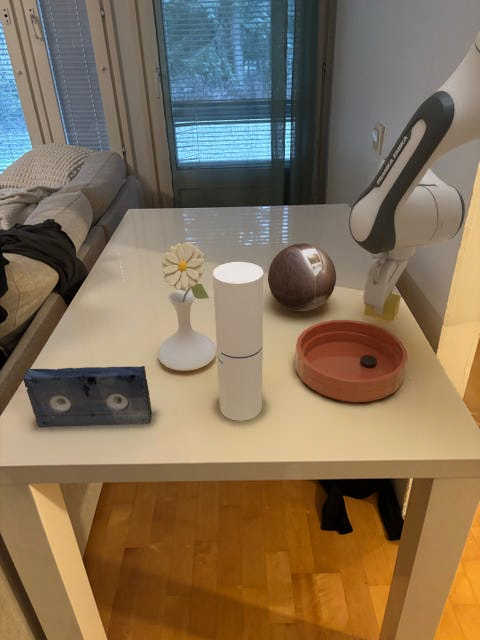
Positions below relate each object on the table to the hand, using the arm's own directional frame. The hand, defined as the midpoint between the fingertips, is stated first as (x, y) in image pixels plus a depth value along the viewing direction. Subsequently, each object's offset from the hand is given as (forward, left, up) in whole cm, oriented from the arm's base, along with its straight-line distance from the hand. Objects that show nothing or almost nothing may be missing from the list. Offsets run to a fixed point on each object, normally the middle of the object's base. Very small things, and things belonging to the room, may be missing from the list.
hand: (382, 306), depth 95 cm
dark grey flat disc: (-1, +14, -5) cm, 15 cm away
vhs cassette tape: (+34, +48, -6) cm, 59 cm away
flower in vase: (+30, +27, -6) cm, 41 cm away
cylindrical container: (+15, +34, -6) cm, 38 cm away
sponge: (0, 0, -2) cm, 2 cm away
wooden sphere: (+19, -2, -6) cm, 20 cm away
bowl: (+2, +16, -6) cm, 17 cm away
